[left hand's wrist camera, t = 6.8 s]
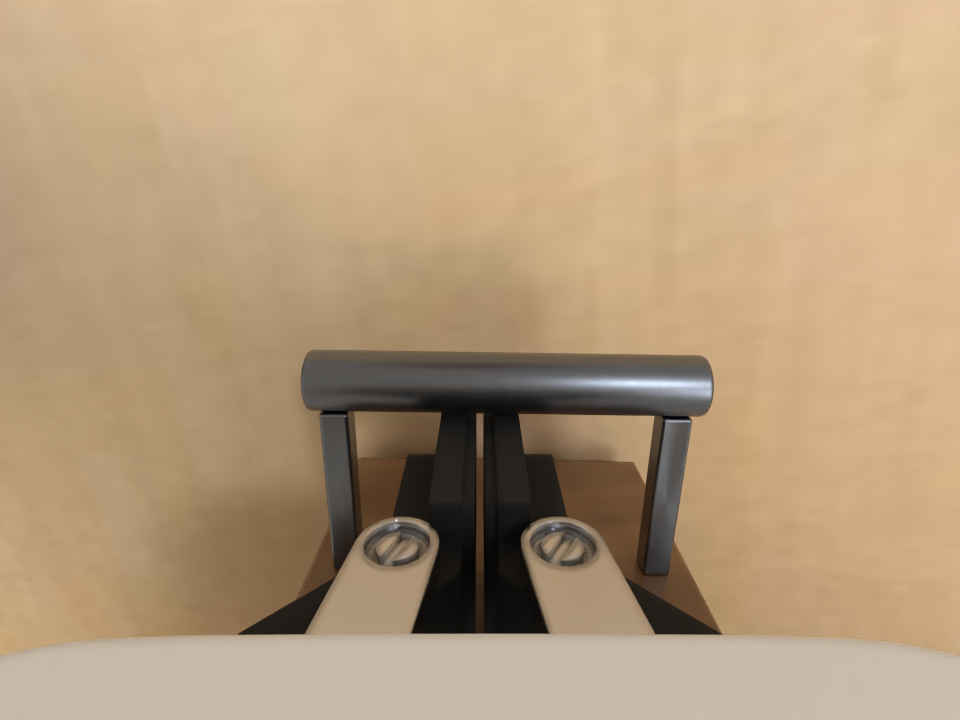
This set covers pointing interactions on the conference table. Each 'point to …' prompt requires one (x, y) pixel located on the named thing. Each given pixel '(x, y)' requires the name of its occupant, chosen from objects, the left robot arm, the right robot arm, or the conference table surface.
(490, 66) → the conference table surface
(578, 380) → the drawer
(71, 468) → the conference table surface
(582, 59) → the conference table surface
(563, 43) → the conference table surface
